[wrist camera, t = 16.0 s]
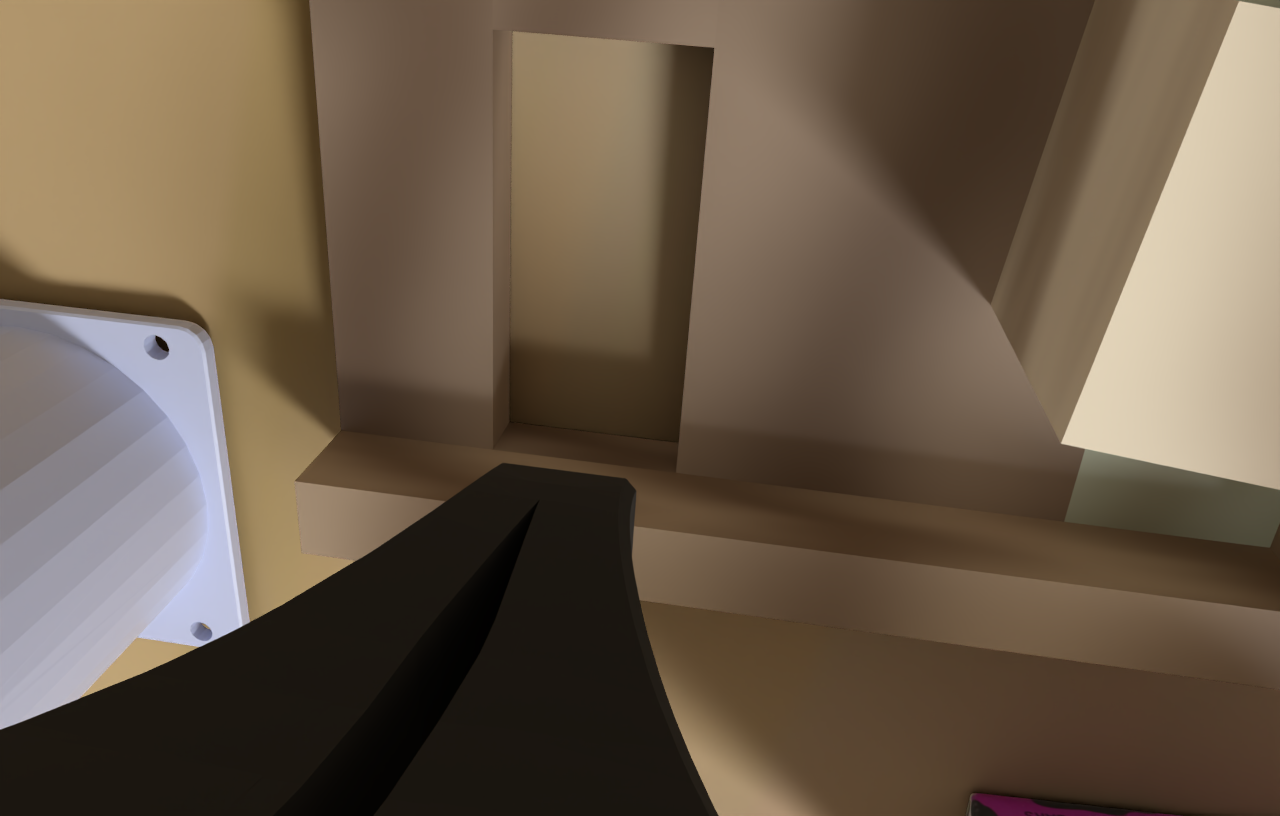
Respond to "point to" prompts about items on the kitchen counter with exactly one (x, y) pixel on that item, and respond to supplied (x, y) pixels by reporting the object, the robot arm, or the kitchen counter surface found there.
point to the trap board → (777, 334)
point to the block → (1159, 242)
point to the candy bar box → (1040, 808)
